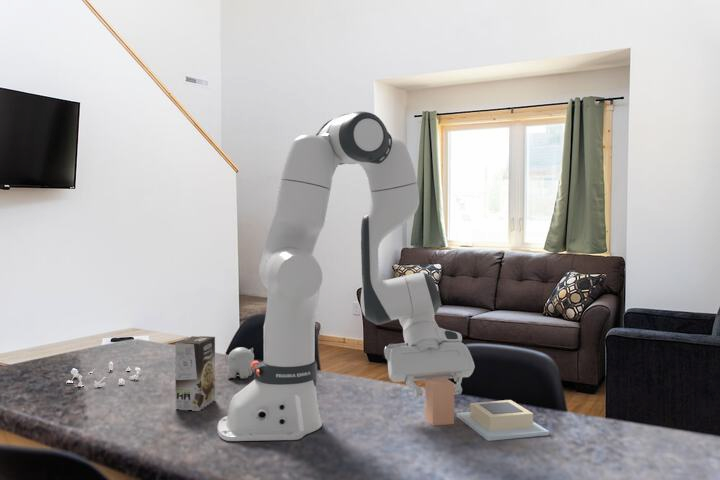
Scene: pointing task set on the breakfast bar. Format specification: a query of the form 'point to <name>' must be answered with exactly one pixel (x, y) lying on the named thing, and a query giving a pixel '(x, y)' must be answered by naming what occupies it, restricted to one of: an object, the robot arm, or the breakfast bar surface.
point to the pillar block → (439, 401)
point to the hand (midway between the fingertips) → (438, 394)
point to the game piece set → (74, 371)
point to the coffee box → (195, 373)
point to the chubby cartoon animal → (240, 362)
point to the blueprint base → (504, 432)
